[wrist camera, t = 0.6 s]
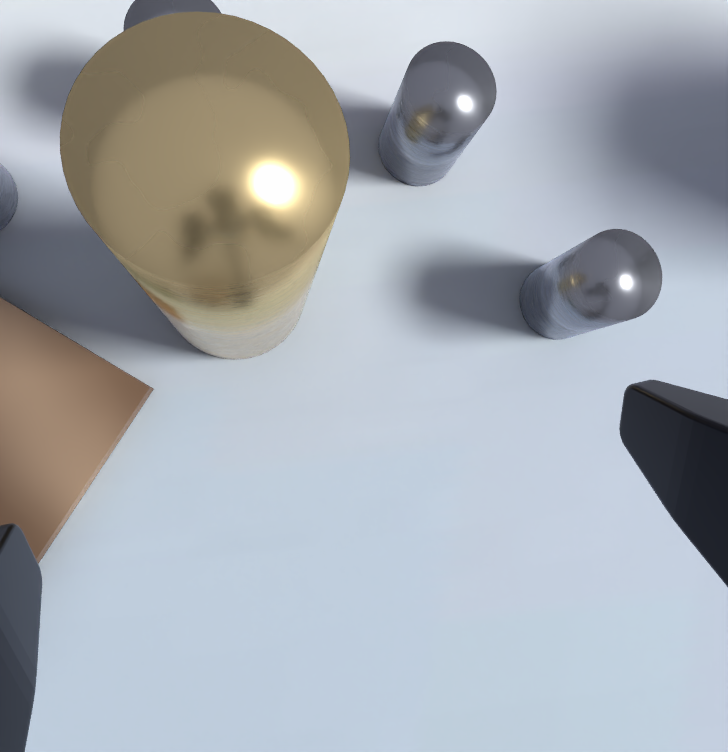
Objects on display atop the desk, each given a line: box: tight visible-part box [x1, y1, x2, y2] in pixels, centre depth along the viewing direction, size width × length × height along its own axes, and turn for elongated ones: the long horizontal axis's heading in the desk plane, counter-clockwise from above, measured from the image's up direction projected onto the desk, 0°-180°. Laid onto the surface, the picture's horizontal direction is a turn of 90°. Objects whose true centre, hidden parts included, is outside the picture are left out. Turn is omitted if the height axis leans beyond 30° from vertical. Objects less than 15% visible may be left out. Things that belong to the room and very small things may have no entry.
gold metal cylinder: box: [60, 12, 350, 359], centre depth 17 cm, size 5×5×12 cm
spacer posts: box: [0, 0, 662, 339], centre depth 21 cm, size 8×25×4 cm, turn 82°
